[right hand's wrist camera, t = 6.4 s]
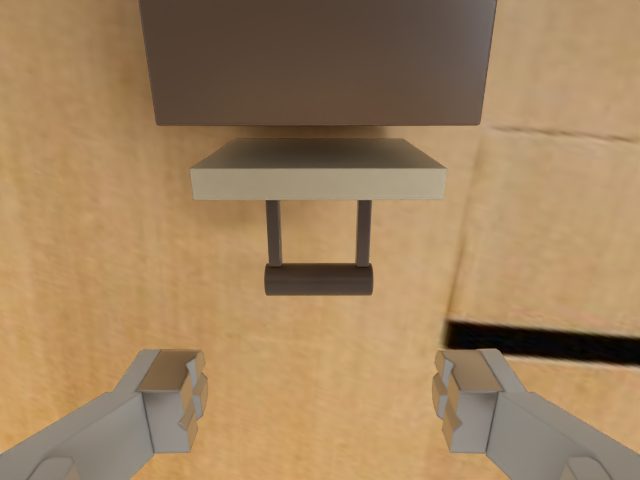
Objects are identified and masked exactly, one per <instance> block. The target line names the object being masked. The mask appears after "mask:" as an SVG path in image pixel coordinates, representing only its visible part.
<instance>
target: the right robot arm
mask: <svg viewBox="0 0 640 480" xmlns="http://www.w3.org/2000/svg"><path fill="white" fill-rule="evenodd" d="M204 365H205V359H204V353H203V352H202V350H183V349H163V350H162V349H144V350H142V351H140V352H139V353H138V355H137V356H136V358H135V359H134V361H133V362H132V364H131V365H130V367H129V368H128V370H127V371H126V372H125V374H124V375H123V377H122V378H121V380H120V381H119V383H118V384H117V386H116V387H115V389H114V390H113V392H106V393H104V394H102V395H100V396H99V397H97V398H95V399H94V400H92V401H90V402H89V403H87V404H85V405H83V406H82V407H80V408H78V409H77V410H75V411H73V412H72V413H70V414H68V415H67V416H65V417H63V418H61V419H60V420H58V421H56V422H55V423H53V424H51V425H50V426H48V427H46V428H44V429H43V430H41V431H39V432H38V433H36V434H34V435H33V436H31V437H29V438H28V439H26V440H24V441H22V442H21V443H19V444H17V445H16V446H14V447H12V448H11V449H9V450H7V451H5V452H4V453H2V454H0V480H129V479H130V478H131V477H132V476H133V475H134V474H135V473H136V472H137V471H138V470H139V469H140V468H142V467H143V466H144V465H145V464H146V463H147V462H148V461H149V460H150V459H151V458H152V457H153V456H154V454H155V453H189V452H190V450H191V448H192V445H193V442H194V439H195V437H196V434H197V431H198V427H197V420H198V419H199V418H201V417H202V416H203V414H204V411H205V408H206V403H207V397H208V382H207V377H206V376H205V375H204V374H203V373H202V370H203V368H204ZM435 365H436V368H437V370H438V373H437V374H436V375H435V376H434V377H433V382H432V398H433V404H434V408H435V411H436V414H437V416H438V417H439V418H441V419H442V420H443V426H442V431H443V434H444V437H445V439H446V442H447V445H448V448H449V450H450V453H485V454H486V456H487V457H488V458H489V459H490V460H491V461H492V462H493V463H495V464H496V465H497V466H498V467H499V468H500V469H501V470H502V471H503V472H504V473H505V474H506V475H507V476H508V477H509V478H510V479H511V480H640V455H639V454H638V453H636V452H634V451H632V450H631V449H629V448H627V447H626V446H624V445H622V444H621V443H619V442H617V441H616V440H614V439H612V438H610V437H609V436H607V435H605V434H604V433H602V432H600V431H599V430H597V429H595V428H594V427H592V426H590V425H588V424H587V423H585V422H583V421H582V420H580V419H578V418H577V417H575V416H573V415H572V414H570V413H568V412H567V411H565V410H563V409H561V408H560V407H558V406H556V405H555V404H553V403H551V402H550V401H548V400H546V399H545V398H543V397H541V396H539V395H538V394H536V393H534V392H527V390H526V389H525V387H524V386H523V384H522V383H521V381H520V380H519V379H518V377H517V376H516V374H515V373H514V371H513V370H512V368H511V367H510V365H509V364H508V363H507V361H506V360H505V358H504V357H503V355H502V354H501V352H500V351H499V350H497V349H477V350H438V351H437V353H436V358H435Z"/></svg>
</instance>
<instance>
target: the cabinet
mask: <svg viewBox="0 0 640 480" xmlns="http://www.w3.org/2000/svg"><path fill="white" fill-rule="evenodd" d="M496 5H497V0H139V7H140V14H141V21H142V28H143V35H144V42H145V49H146V56H147V63H148V70H149V77H150V84H151V91H152V98H153V105H154V112H155V119H156V124H157V125H159V126H477V125H479V124H480V121H481V113H482V106H483V99H484V92H485V85H486V77H487V70H488V63H489V56H490V49H491V41H492V34H493V27H494V20H495V12H496Z"/></svg>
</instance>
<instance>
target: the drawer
mask: <svg viewBox="0 0 640 480" xmlns="http://www.w3.org/2000/svg"><path fill="white" fill-rule="evenodd" d="M446 174H447V168H446V167H444V166H443V165H441V164H440V163H438V162H437V161H435V160H434V159H432V158H431V157H429V156H428V155H426V154H425V153H423V152H422V151H420V150H419V149H418V148H416V147H415V146H413V145H412V144H410V143H409V142H407V141H406V140H404V139H234V140H232V141H231V142H229V143H228V144H226V145H225V146H223V147H222V148H220V149H219V150H217V151H216V152H214V153H213V154H211V155H210V156H208V157H207V158H205V159H204V160H202V161H201V162H199V163H198V164H196V165H195V166H193V167H192V168H190V176H191V184H192V193H193V199H194V200H266V215H267V234H268V253H269V263H267V264H266V267H265V277H264V284H265V293H266V295H267V296H370V295H372V292H373V268H372V264H371V263H369V247H370V226H371V205H372V200H443V199H444V192H445V183H446ZM280 200H357V227H356V257H355V262H356V263H282V239H281V213H280Z"/></svg>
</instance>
